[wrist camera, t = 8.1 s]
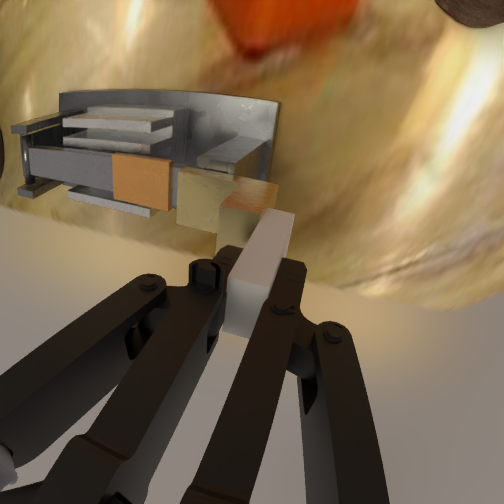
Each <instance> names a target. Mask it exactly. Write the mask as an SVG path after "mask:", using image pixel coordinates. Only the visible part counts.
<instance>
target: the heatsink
mask: <svg viewBox="0 0 504 504" xmlns="http://www.w3.org/2000/svg"><path fill="white" fill-rule="evenodd" d="M280 104H281V102H277V101H271V100H264V99H258V98H251V97H243V96H235V95H227V94H217V93H206V92H194V91H179V90H155V89H108V90H85V91H70V92H63V93H59V112H58V113H54V114H50V115H46V116H43V117H39V118H35V119H32V120H29V121H25V122H22V123H19V124H16V125H12V126H11V134H20V142H21V136H22V135H24V134H29V133H31V134H32V146H35V145H39V146H51V147H62V148H71V149H81V150H90V151H98V152H106V153H116V152H120V153H127V154H135V155H141V156H148V157H155V158H161V159H167V160H173V163H179V164H185V165H190V166H191V167H192V168H198V169H204V170H209V171H215V172H220V173H225V174H230V175H236V176H241V177H245V178H250V179H255V180H260V181H265V182H268V179H269V173H270V167H271V161H272V155H273V148H274V142H275V136H276V130H277V123H278V117H279V111H280ZM21 154H22V144H21ZM22 164H23V156H22ZM23 173H24V166H23ZM24 176H25V175H24ZM38 177H39V178H38ZM35 178H36V182H35V183H34V184H31V185H26V184H24V185H22V186H20V187H18V188H17V190H18V195H20V196H24V197H28V198H32V199H34V198H36V197H38V196H40V195H42V194H43V193H45V192H47V191H49V190H51V189H53V188H55V187H57V186H59V185H61V184H63V185H67V186H72V187H73V188H72V189H70V190H68V191H67V195H68V199H73V200H77V201H81V202H85V203H90V204H94V205H98V206H102V207H106V208H111V209H115V210H119V211H123V212H127V213H132V214H136V215H140V216H144V217H148V218H150V217H151V216H153V215H154V214H155V213H157V212H158V211H159V209H155V208H151V207H147V206H143V205H139V204H134V203H130V202H126V201H122V200H117V199H114V194H113V192H112V191H108V190H103V189H98V188H94V187H89V186H84V185H80V184H75V183H70V182H65V181H60V180H55V179H50V178H46V177H40V176H35ZM172 208H175V209H177V206H174V205H172Z"/></svg>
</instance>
